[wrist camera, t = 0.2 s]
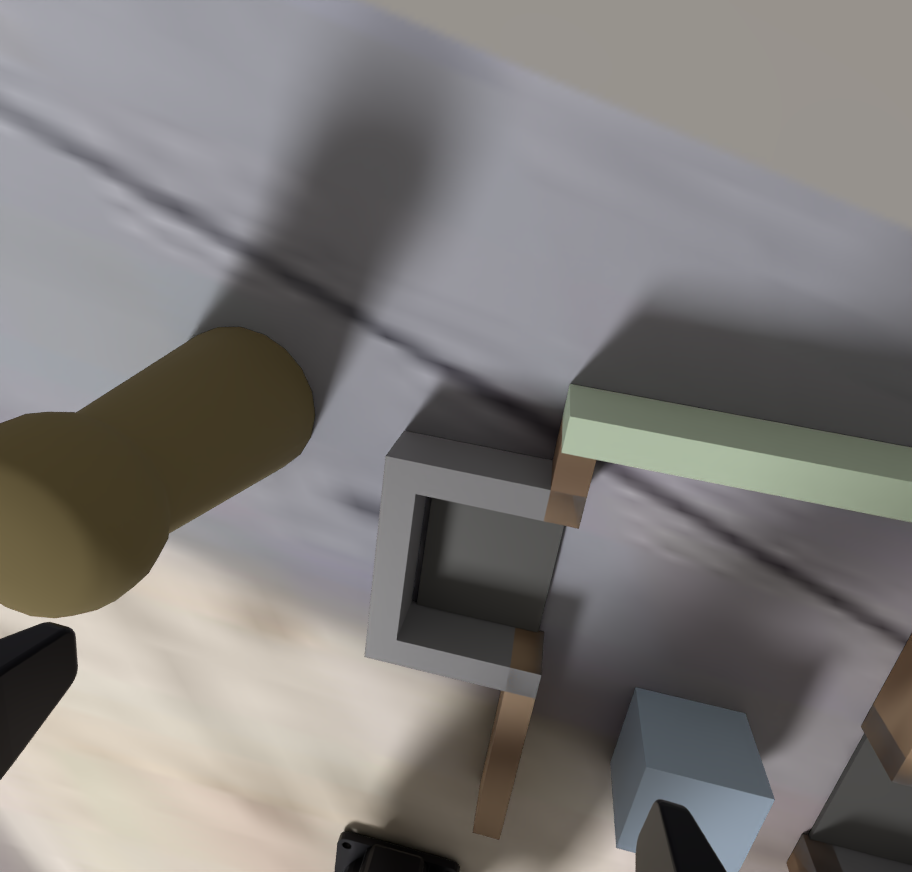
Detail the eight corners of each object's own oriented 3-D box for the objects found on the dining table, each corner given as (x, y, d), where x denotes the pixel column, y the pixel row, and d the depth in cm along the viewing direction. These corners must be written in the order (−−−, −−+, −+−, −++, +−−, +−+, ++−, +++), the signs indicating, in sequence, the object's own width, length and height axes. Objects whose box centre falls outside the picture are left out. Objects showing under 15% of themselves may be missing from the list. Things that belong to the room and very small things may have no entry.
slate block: (711, 786, 27) (734, 879, 23) (610, 760, 27) (616, 847, 23) (744, 711, 25) (774, 799, 21) (635, 685, 25) (646, 766, 22)
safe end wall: (1025, 504, 20) (1112, 562, 17) (562, 415, 22) (561, 452, 18) (1043, 472, 19) (1137, 525, 16) (569, 383, 21) (569, 416, 18)
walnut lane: (813, 870, 27) (836, 931, 25) (480, 782, 29) (472, 832, 26) (1025, 504, 20) (1084, 543, 18) (562, 415, 22) (561, 440, 19)
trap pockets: (956, 894, 26) (993, 960, 24) (368, 740, 29) (350, 786, 27) (1182, 587, 20) (1262, 637, 18) (404, 430, 23) (385, 456, 21)
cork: (289, 313, 22) (51, 407, 12) (332, 464, 24) (160, 653, 14) (149, 339, 23) (-170, 444, 13) (201, 479, 25) (-43, 663, 15)
